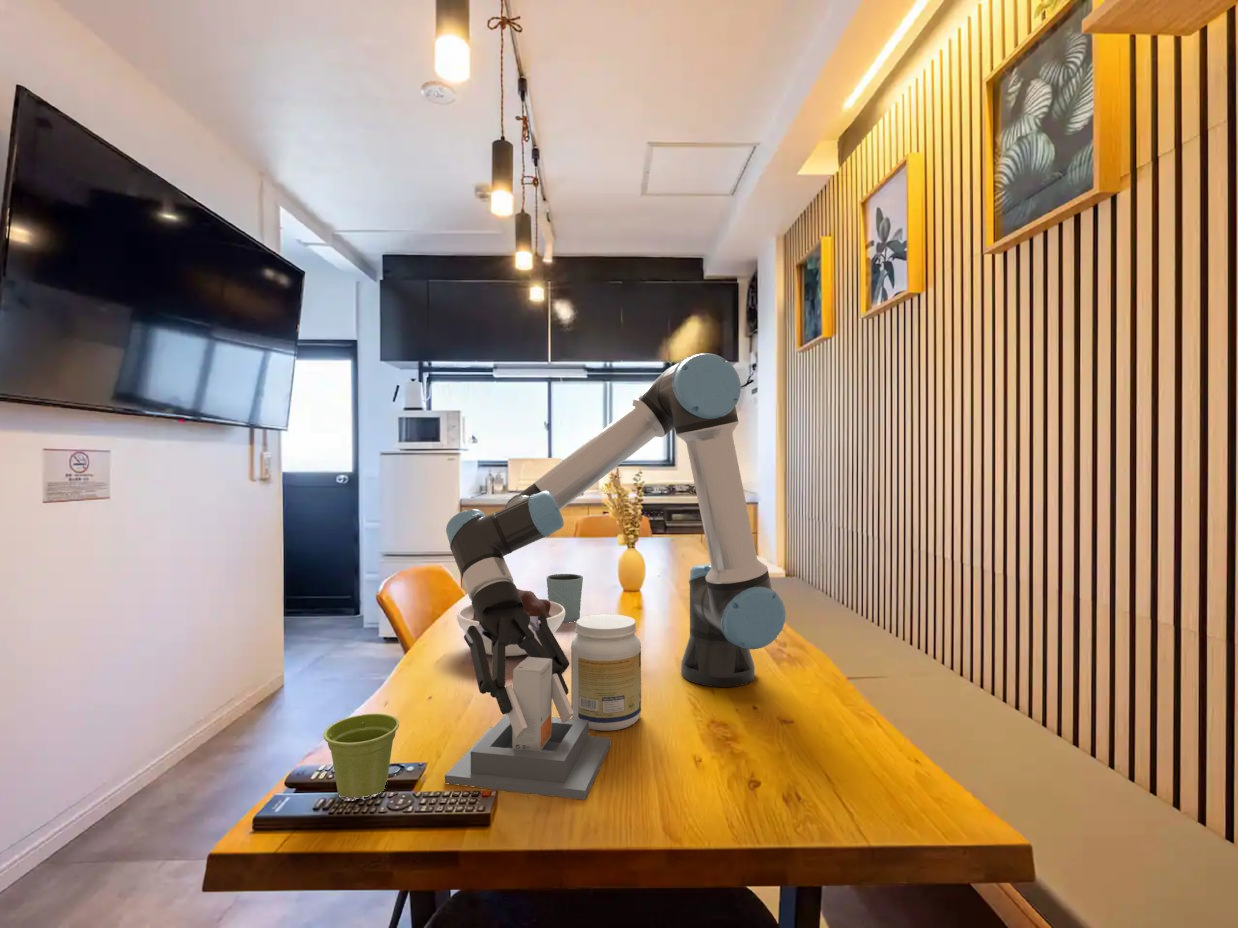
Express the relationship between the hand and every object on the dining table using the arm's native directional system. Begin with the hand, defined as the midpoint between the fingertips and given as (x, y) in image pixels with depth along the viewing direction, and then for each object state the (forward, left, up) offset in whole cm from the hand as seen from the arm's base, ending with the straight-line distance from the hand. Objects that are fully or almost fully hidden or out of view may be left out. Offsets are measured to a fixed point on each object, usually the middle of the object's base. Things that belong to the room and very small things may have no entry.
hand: (545, 724), depth 90 cm
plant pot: (+23, +10, -7) cm, 26 cm away
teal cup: (+22, -83, -7) cm, 86 cm away
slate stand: (+3, -2, -7) cm, 8 cm away
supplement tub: (-4, -20, -7) cm, 22 cm away
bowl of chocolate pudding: (+26, -53, -7) cm, 59 cm away
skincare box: (+3, -2, -4) cm, 6 cm away
